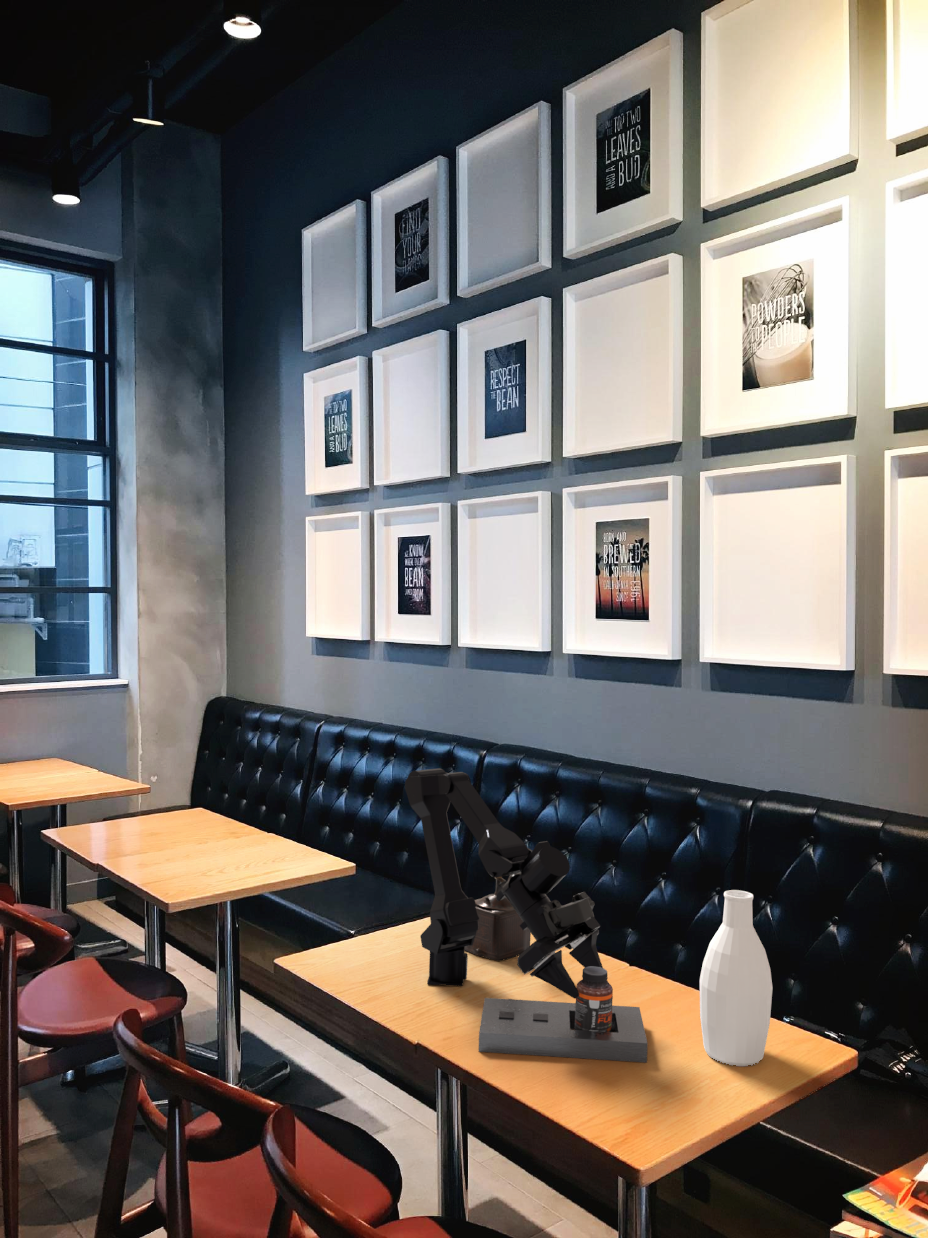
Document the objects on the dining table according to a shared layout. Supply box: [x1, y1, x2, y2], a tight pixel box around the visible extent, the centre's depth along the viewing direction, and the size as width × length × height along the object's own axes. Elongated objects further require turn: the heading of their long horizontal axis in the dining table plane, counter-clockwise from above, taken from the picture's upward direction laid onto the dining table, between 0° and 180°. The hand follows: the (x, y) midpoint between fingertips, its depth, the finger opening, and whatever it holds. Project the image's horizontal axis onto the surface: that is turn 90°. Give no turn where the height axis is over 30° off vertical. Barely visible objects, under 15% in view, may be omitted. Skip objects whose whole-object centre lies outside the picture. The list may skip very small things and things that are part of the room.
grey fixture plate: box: [478, 997, 648, 1063], centre depth 163 cm, size 26×14×3 cm, turn 85°
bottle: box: [699, 889, 773, 1067], centre depth 158 cm, size 11×11×25 cm
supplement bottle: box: [574, 966, 614, 1032], centre depth 162 cm, size 6×6×11 cm
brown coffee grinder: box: [465, 873, 532, 962], centre depth 201 cm, size 16×11×18 cm
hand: (591, 988), depth 162 cm, fingers open, 9 cm apart
